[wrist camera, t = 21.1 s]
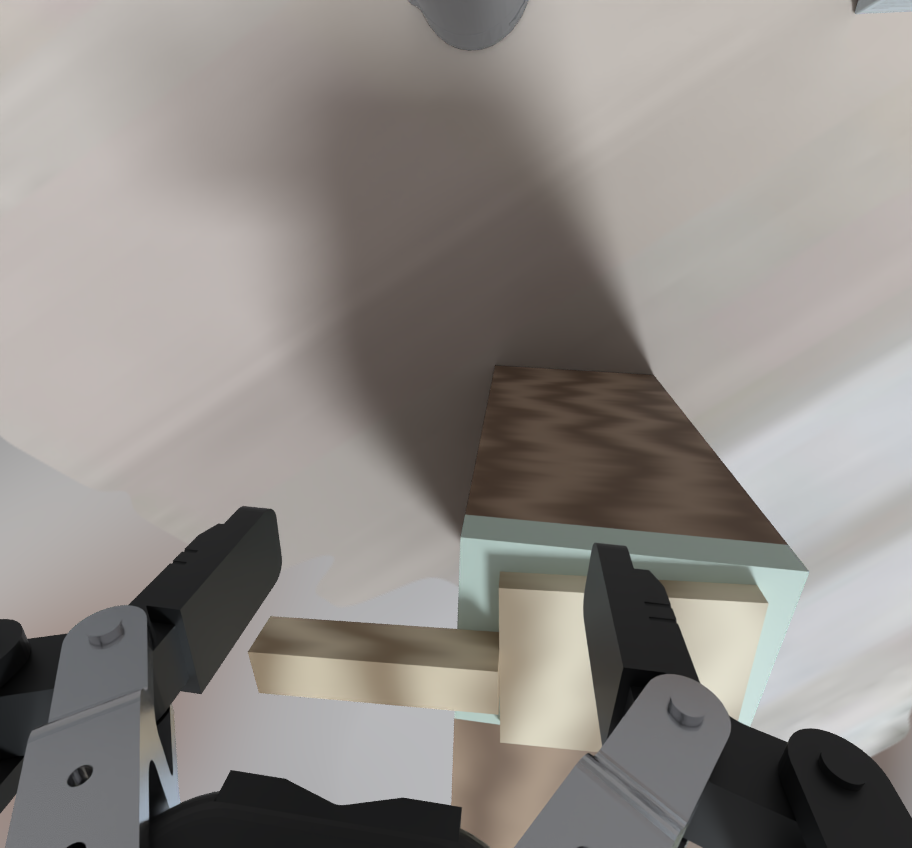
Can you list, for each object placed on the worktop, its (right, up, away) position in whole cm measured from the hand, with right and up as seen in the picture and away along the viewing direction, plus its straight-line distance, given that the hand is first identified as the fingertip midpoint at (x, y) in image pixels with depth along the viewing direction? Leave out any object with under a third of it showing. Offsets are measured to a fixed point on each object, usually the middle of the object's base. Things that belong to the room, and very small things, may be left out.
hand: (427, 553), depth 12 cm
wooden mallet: (+3, -9, +15) cm, 17 cm away
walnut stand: (+12, -3, +43) cm, 45 cm away
